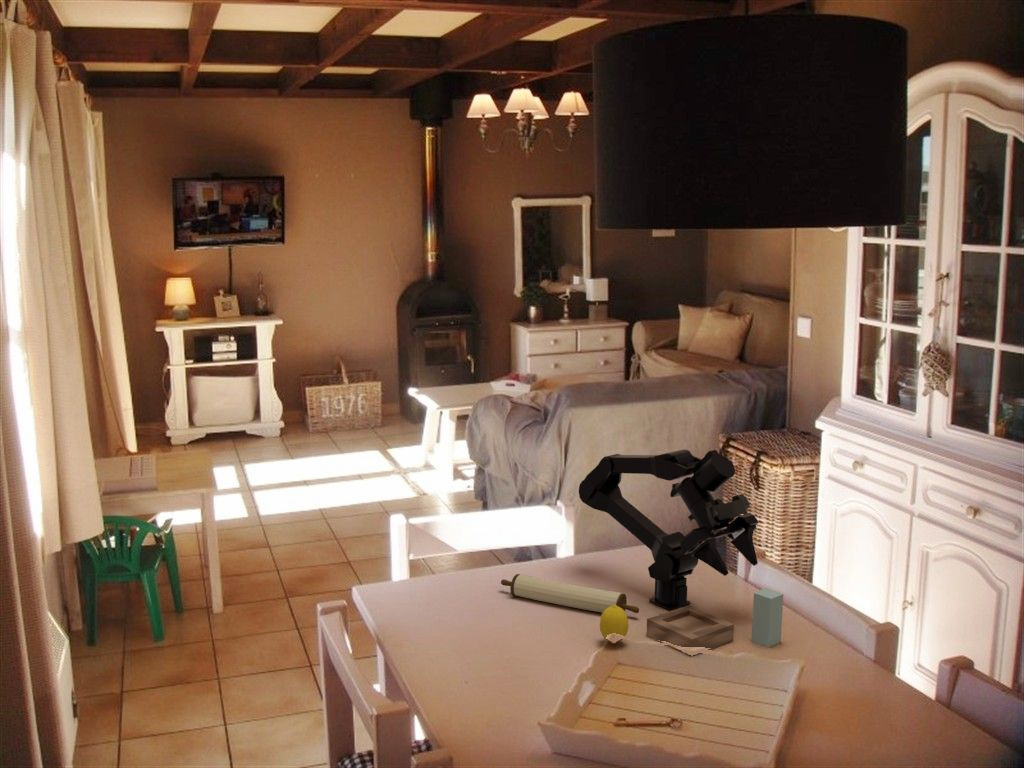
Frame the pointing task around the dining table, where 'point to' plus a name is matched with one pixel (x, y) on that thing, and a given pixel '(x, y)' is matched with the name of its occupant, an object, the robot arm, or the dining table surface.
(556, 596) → the rolling pin
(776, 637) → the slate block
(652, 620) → the walnut base
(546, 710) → the dining table surface
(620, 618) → the lemon
